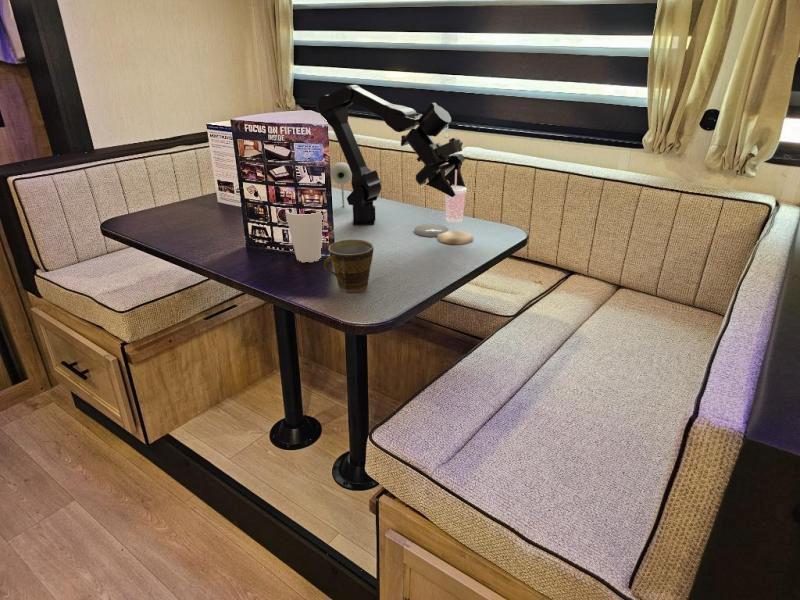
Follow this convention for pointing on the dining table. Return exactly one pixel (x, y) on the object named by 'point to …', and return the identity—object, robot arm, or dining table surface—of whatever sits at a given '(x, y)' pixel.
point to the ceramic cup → (351, 264)
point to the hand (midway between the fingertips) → (459, 193)
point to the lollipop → (341, 175)
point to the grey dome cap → (430, 230)
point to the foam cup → (306, 235)
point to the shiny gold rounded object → (455, 237)
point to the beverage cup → (455, 203)
